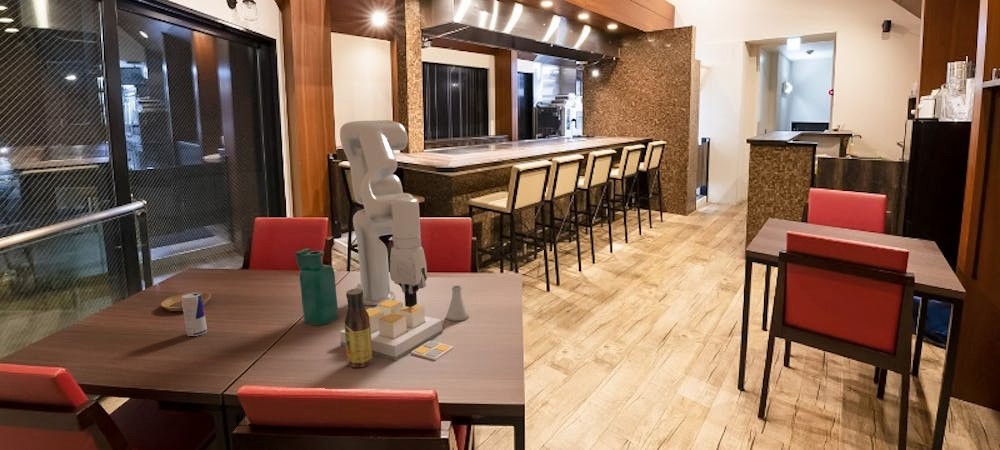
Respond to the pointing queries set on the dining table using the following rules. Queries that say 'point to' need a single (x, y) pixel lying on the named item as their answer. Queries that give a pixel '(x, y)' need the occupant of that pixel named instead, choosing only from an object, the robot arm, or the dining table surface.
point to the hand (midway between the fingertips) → (411, 305)
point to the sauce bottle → (357, 330)
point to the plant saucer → (178, 298)
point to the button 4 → (413, 315)
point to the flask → (457, 306)
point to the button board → (403, 339)
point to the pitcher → (317, 288)
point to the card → (432, 350)
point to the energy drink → (194, 314)
